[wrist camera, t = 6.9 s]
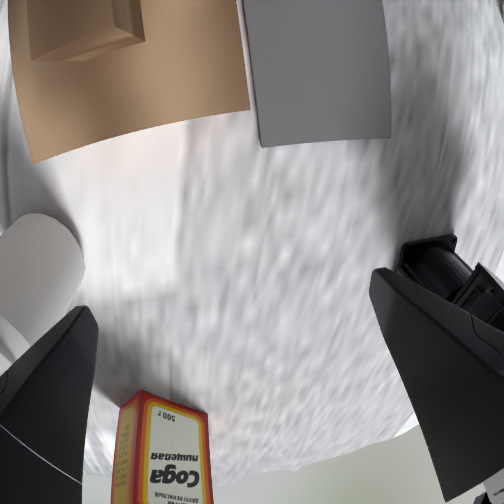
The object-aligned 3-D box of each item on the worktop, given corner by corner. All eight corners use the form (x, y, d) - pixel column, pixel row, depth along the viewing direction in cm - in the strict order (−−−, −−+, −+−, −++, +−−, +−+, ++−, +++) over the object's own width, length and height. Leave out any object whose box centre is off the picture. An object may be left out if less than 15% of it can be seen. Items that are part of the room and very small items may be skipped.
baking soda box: (119, 408, 33) (109, 521, 20) (141, 389, 31) (132, 520, 18) (180, 429, 37) (184, 532, 24) (207, 414, 35) (216, 529, 22)
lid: (221, -83, 7) (228, -141, 3) (247, 107, 13) (267, 124, 9) (17, -17, 7) (-43, -31, 2) (42, 158, 13) (-18, 200, 8)
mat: (375, -11, 13) (380, -12, 13) (386, 135, 19) (390, 137, 19) (239, -17, 13) (240, -20, 12) (260, 145, 19) (262, 147, 18)
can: (2, 212, 18) (-86, 311, 8) (75, 202, 19) (-13, 321, 9) (29, 288, 22) (-25, 395, 12) (98, 287, 23) (56, 414, 13)
